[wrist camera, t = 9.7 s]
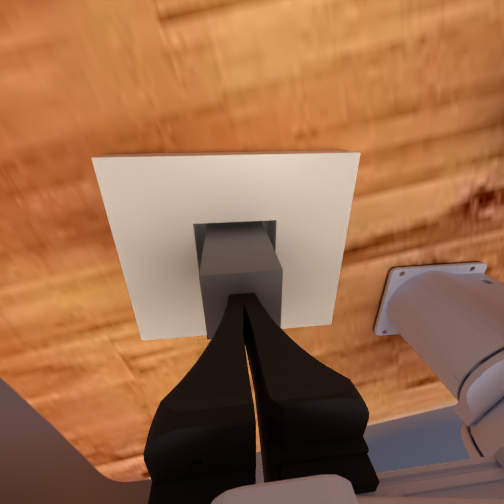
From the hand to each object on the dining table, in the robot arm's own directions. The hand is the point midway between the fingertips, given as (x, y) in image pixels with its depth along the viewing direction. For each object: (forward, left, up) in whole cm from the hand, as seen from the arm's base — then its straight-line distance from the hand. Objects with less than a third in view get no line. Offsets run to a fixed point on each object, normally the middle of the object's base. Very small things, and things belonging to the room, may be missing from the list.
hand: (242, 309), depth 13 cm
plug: (0, 0, -8) cm, 8 cm away
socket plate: (0, 0, -8) cm, 8 cm away
